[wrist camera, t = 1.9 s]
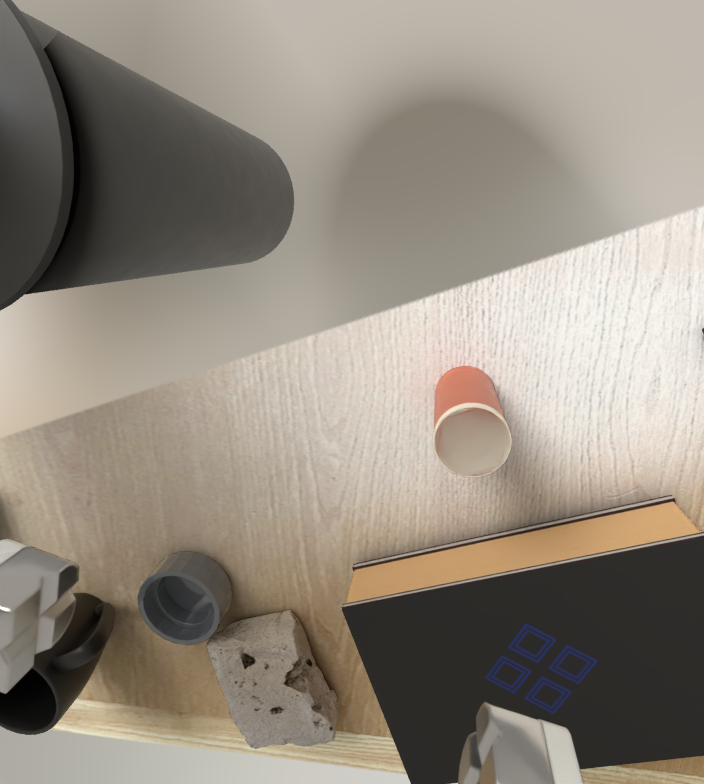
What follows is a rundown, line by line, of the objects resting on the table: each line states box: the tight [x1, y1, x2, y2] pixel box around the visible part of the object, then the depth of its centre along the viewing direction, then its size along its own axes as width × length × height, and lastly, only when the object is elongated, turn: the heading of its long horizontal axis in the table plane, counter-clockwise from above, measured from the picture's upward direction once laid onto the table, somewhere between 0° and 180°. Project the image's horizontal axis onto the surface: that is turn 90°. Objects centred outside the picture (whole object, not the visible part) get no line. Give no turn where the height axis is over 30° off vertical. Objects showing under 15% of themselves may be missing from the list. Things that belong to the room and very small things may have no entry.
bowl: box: [138, 552, 232, 645], centre depth 48 cm, size 7×7×4 cm
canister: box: [433, 366, 512, 478], centre depth 36 cm, size 4×4×10 cm
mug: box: [0, 593, 115, 735], centre depth 48 cm, size 8×12×10 cm
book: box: [342, 495, 704, 784], centre depth 42 cm, size 17×25×7 cm
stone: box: [207, 609, 337, 749], centre depth 48 cm, size 13×6×10 cm
